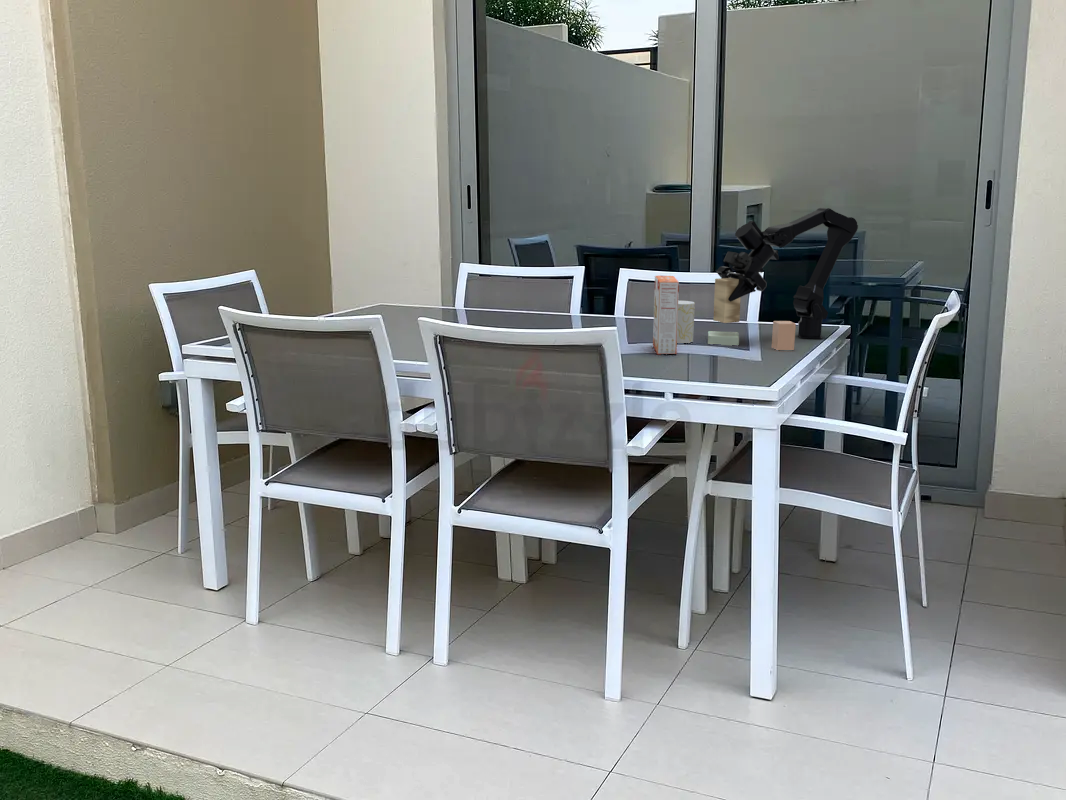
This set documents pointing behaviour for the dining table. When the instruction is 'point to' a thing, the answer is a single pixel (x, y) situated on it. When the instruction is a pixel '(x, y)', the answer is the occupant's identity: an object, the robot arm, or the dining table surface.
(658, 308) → the cracker box
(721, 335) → the sage slab
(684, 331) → the cup
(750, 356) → the dining table surface
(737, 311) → the oak block
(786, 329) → the terracotta block
